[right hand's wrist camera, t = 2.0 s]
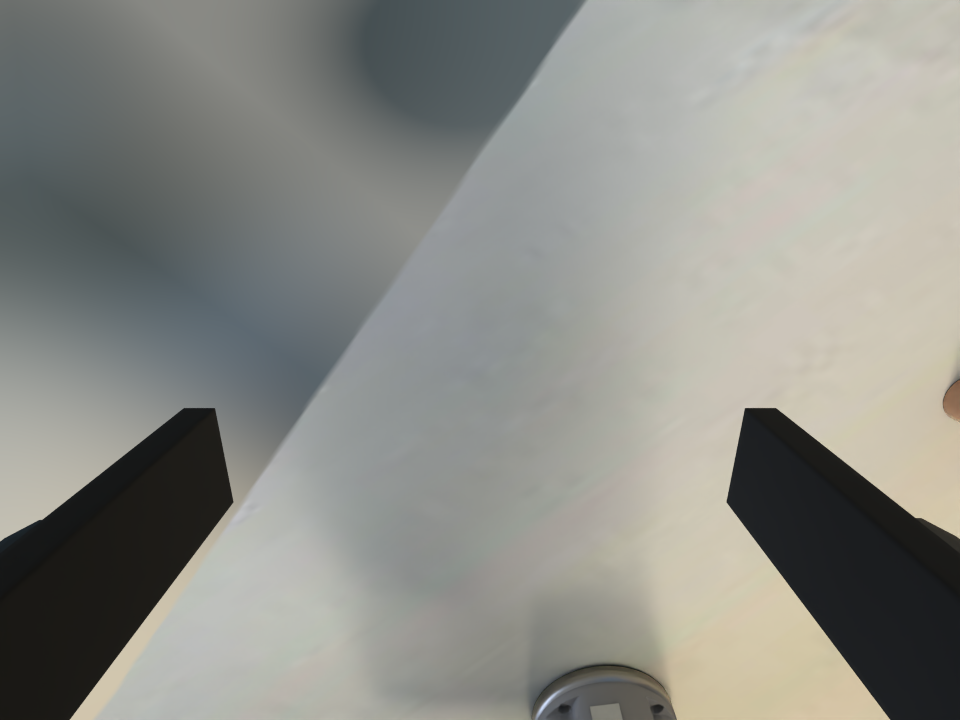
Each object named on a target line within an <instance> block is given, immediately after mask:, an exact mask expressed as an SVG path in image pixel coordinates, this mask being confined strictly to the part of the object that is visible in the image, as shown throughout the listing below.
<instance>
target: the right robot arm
mask: <svg viewBox="0 0 960 720" xmlns="http://www.w3.org/2000/svg"><path fill="white" fill-rule="evenodd" d="M232 503H233V498H232V492H231V487H230V483H229V477H228V472H227V467H226V462H225V457H224V452H223V447H222V442H221V437H220V432H219V427H218V421H217V416H216V411H215V408H184V409H182V410H181V411H180V412H179V413H177V414H176V415H175V416H174V417H172V418H171V419H170V420H168V421H167V422H166V423H165V424H163V425H162V426H161V427H160V428H158V429H157V430H156V431H154V432H153V433H152V434H151V435H149V436H148V437H147V438H146V439H144V440H143V441H142V442H141V443H139V444H138V445H137V446H135V447H134V448H133V449H132V450H130V451H129V452H128V453H127V454H125V455H124V456H123V457H122V458H120V459H119V460H118V461H116V462H115V463H114V464H113V465H111V466H110V467H109V468H108V469H106V470H105V471H104V472H102V473H101V474H100V475H99V476H97V477H96V478H95V479H94V480H92V481H91V482H90V483H89V484H87V485H86V486H85V487H83V488H82V489H81V490H80V491H78V492H77V493H76V494H75V495H73V496H72V497H71V498H70V499H68V500H67V501H66V502H65V503H63V504H62V505H61V506H59V507H58V508H57V509H56V510H54V511H53V512H52V513H51V514H49V515H48V516H47V517H45V518H44V519H43V520H39V521H37V522H35V523H33V524H31V525H29V526H27V527H25V528H23V529H21V530H19V531H18V532H16V533H14V534H12V535H10V536H8V537H6V538H4V539H3V540H2V541H0V720H70V719H71V717H72V716H73V715H74V713H75V712H76V711H77V709H78V708H79V707H80V705H81V704H82V703H83V701H84V700H85V699H86V697H87V696H88V695H89V693H90V692H91V691H92V689H93V688H94V687H95V685H96V684H97V683H98V681H99V680H100V679H101V677H102V676H103V675H104V673H105V672H106V671H107V669H108V668H109V667H110V665H111V664H112V663H113V661H114V660H115V659H116V657H117V656H118V655H119V653H120V652H121V651H122V649H123V648H124V647H125V645H126V644H127V643H128V641H129V640H130V639H131V638H132V636H133V635H134V633H135V632H136V631H137V630H138V628H139V627H140V626H141V624H142V623H143V622H144V620H145V619H146V618H147V616H148V615H149V614H150V612H151V611H152V610H153V608H154V607H155V606H156V604H157V603H158V602H159V600H160V599H161V598H162V596H163V595H164V594H165V592H166V591H167V590H168V588H169V587H170V586H171V584H172V583H173V582H174V580H175V579H176V578H177V576H178V575H179V574H180V572H181V571H182V570H183V568H184V567H185V566H186V564H187V563H188V562H189V561H190V559H191V558H192V557H193V555H194V554H195V553H196V551H197V550H198V549H199V547H200V546H201V545H202V543H203V542H204V541H205V539H206V538H207V537H208V535H209V534H210V533H211V531H212V530H213V529H214V527H215V526H216V525H217V523H218V522H219V521H220V519H221V518H222V517H223V515H224V514H225V513H226V511H227V510H228V509H229V507H230V506H231V505H232ZM727 503H728V505H729V506H730V507H731V509H732V510H733V511H734V513H735V514H736V515H737V517H738V518H739V519H740V521H741V522H742V523H743V525H744V526H745V527H746V529H747V530H748V531H749V533H750V534H751V535H752V537H753V538H754V539H755V541H756V542H757V543H758V545H759V546H760V547H761V549H762V550H763V551H764V553H765V554H766V555H767V557H768V558H769V559H770V561H771V562H772V563H773V564H774V566H775V567H776V568H777V570H778V571H779V572H780V574H781V575H782V576H783V578H784V579H785V580H786V582H787V583H788V584H789V586H790V587H791V588H792V590H793V591H794V592H795V594H796V595H797V596H798V598H799V599H800V600H801V602H802V603H803V604H804V606H805V607H806V608H807V610H808V611H809V612H810V614H811V615H812V616H813V618H814V619H815V620H816V622H817V623H818V624H819V626H820V627H821V628H822V630H823V631H824V632H825V634H826V635H827V636H828V638H829V639H830V640H831V642H832V643H833V644H834V646H835V647H836V648H837V650H838V651H839V652H840V653H841V655H842V656H843V657H844V659H845V660H846V661H847V663H848V664H849V665H850V667H851V668H852V669H853V671H854V672H855V673H856V675H857V676H858V677H859V679H860V680H861V681H862V683H863V684H864V685H865V687H866V688H867V689H868V691H869V692H870V693H871V695H872V696H873V697H874V699H875V700H876V701H877V703H878V704H879V705H880V707H881V708H882V709H883V711H884V712H885V713H886V715H887V716H888V717H889V719H890V720H960V539H959V538H957V537H956V536H954V535H952V534H950V533H949V532H947V531H945V530H943V529H941V528H939V527H937V526H935V525H933V524H931V523H929V522H928V521H926V520H924V519H922V518H915V517H913V516H912V515H911V514H909V513H908V512H907V511H906V510H904V509H903V508H902V507H901V506H899V505H898V504H897V503H896V502H894V501H893V500H892V499H890V498H889V497H888V496H887V495H885V494H884V493H883V492H882V491H880V490H879V489H878V488H877V487H875V486H874V485H873V484H871V483H870V482H869V481H868V480H866V479H865V478H864V477H863V476H861V475H860V474H859V473H858V472H856V471H855V470H854V469H852V468H851V467H850V466H849V465H847V464H846V463H845V462H844V461H842V460H841V459H840V458H838V457H837V456H836V455H835V454H833V453H832V452H831V451H830V450H828V449H827V448H826V447H825V446H823V445H822V444H821V443H819V442H818V441H817V440H816V439H814V438H813V437H812V436H811V435H809V434H808V433H807V432H806V431H804V430H803V429H802V428H800V427H799V426H798V425H797V424H795V423H794V422H793V421H792V420H790V419H789V418H788V417H787V416H785V415H784V414H783V413H781V412H780V411H779V410H778V409H776V408H745V411H744V416H743V421H742V426H741V432H740V437H739V442H738V447H737V452H736V457H735V462H734V467H733V472H732V477H731V482H730V487H729V492H728V498H727ZM532 720H677V719H676V716H675V713H674V710H673V707H672V704H671V702H670V699H669V697H668V694H667V693H666V691H665V690H664V688H663V687H662V686H661V685H660V684H659V683H658V682H657V681H656V680H654V679H653V678H651V677H650V676H648V675H646V674H644V673H642V672H639V671H637V670H634V669H630V668H625V667H619V666H596V667H589V668H585V669H581V670H577V671H574V672H572V673H569V674H567V675H565V676H563V677H561V678H559V679H558V680H556V681H555V682H553V683H552V684H551V685H549V686H548V687H547V688H546V689H545V690H544V691H543V692H542V693H541V695H540V696H539V698H538V699H537V701H536V703H535V706H534V709H533V713H532Z"/></svg>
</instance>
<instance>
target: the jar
mask: <svg viewBox="0 0 960 720" xmlns="http://www.w3.org/2000/svg"><path fill="white" fill-rule="evenodd" d="M943 407H944V411H945V413H946V414H947V415H948V416H949V417H950V418H952V419H954V420H956V421H958V422H960V380H958V381H957V382H955V383H954V384H953V385H952V386H951V387H950V388H949V390H948V391H947V393H946V395H945V397H944V401H943Z"/></svg>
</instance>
